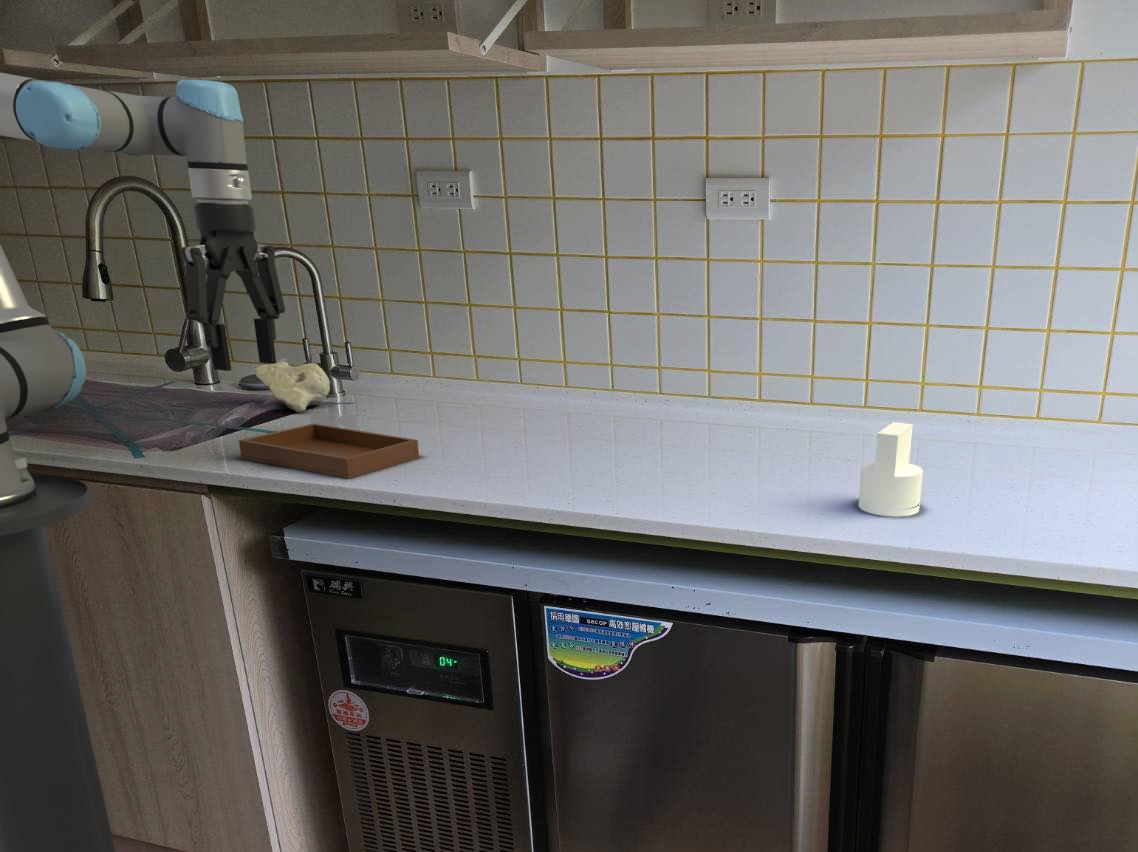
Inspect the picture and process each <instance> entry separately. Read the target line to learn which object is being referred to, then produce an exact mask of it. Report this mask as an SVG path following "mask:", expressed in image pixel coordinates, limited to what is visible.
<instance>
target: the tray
mask: <svg viewBox="0 0 1138 852" xmlns="http://www.w3.org/2000/svg"><path fill="white" fill-rule="evenodd" d="M238 445H239V451H240V458H241V460H246V461H252V462H256V463H257V462H258V463H262V464H267V465H274V466H279V467H285V468H289V469H296V470H300V471H306V472H312V473H316V474H322V475H327V476H332V477H333V476H334V477H338V478H343V479H352V478H355V477H360V476H363V475H365V474H369V473H373V472H376V471H378V470H383V469H386V468H390V467H392V466H396V465H399V464H403V463H406V462H409V461H413V460H416V459H419V458H420V454H419V453H420V450H419V440H418V439H414V438H408V437H402V436H395V435H389V434H383V433H376V432H370V431H363V430H358V429H352V428H344V427H338V426H332V425H328V424H327V425H326V424H320V423H310V424H306V425H301V426H296V427H291V428H287V429H283V430H279V431H275V432H269V433H265V434H261V435H257V436H252V437H247V438H243V439H239V440H238Z"/></svg>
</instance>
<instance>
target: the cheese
mask: <svg viewBox="0 0 1138 852" xmlns="http://www.w3.org/2000/svg"><path fill="white" fill-rule="evenodd" d="M254 372H255V376H256V377H257V378H258V379H259V380H260V382H261V383H263V385H264V386H265V387H267V388H268V389H269V390H270V391H271V393H272V395H273V396H274V397H275V399H276V400H277V401H278V402H280V403H281V404H283V405H285V406H286V407H287V408H288V409H290V410H292V411H294V412H297V413H301V412H305V411H306V410H307V407H309V406H317V405H321V404H323V403H324V400H325V399H326V397H327V396H328V395H329V393H330V390H331V381H330V379H329V377H328V375H327V374H326V372H325V371H324V369H323V368H321V367H320V365H318V364H317V363H315V362H313V363H312V362H309V363H304V364H301V365H299V366H291V365H289V363H288V362H287V358H283V359H280V361H276V364H268V363H266V364H262V365H259V366H257V367H255V369H254Z"/></svg>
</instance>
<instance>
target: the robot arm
mask: <svg viewBox="0 0 1138 852" xmlns="http://www.w3.org/2000/svg"><path fill="white" fill-rule="evenodd" d="M175 87H176V90H175V91H176V92H175V95H174V96H153V95H139V94H138V95H137V94H131V93H125V92H117V91H110V90H104V89H96V88H92V87H91V88H90V87H85V86H81V85H73V84H69V83H65V82H60V81H53V80H46V79H45V80H44V79H36V78H32V77H28V76H22V75H16V74H10V73H5V72H0V136H3V137H7V138H8V137H9V138H14V139H20V140H23V141H24V140H25V141H30V142H35V143H39V144H41V145H43V146H46V147H51V148H54V149H58V150H66V151H79V150H80V151H95V152H96V151H97V152H107V153H113V154H114V153H115V154H122V155H126V156H135V157H140V156H179V157H186V162H187V168H188V169H187V171H188V177H189V185H190V192H191V197H192V199H194V200H197V203H195V204H194V205H193V210H194V211H193V212H194V218H195V225H196V228H197V230H198V232H199V233H200V240H199V243H198V244H196V245H194V246H183V247H181V249H180V252H181V255H182V258H183V261H184V264H185V276H186V277H185V279H186V280H185V283H186V306H187V307H186V308H187V310H186V311H187V318H188V320H189V321H195V322H197V323H198V324H202V327H203V334H204V340H205V341H204V342H205V345H206V346H207V348H210V353H211V359H212V367H213V370H216V371H224V372H229V371H232V365H231V358H230V350H229V344H228V337H227V329H226V325H225V324H224V323H220V319H221V313H222V308H223V302H224V297H225V291H226V286H227V281H228V279H229V278H230V276H231V273H232V272H235V273H236V275H237V276H239V277H240V279H241V282H242V284H243V286H244V288H245V290H246V292H247V294H248V296H249V299H250V302H251V304H252V305H253V307H254V309H255V312H256V313H257V316H258V317H259V318H253V324H254V332H255V339H256V347H257V354H258V355H257V356H258V362H259V363H261V364H276V362H277V358H276V356H277V355H276V349H275V342H274V341H276V339H277V333H276V323H275V320H278V319H280V317H281V315H280V314H284V313H285V311H286V307H285V303H284V299H283V294H282V293H283V292H282V289H281V284H280V281H279V276H278V272H277V267H276V263H275V259H276V249H275V248H276V247H275V246H273V245H269V244H268V245H267V244H261V243H260V244H259V243H258V242H257V239H256V237H255V236H254V234H255V231H256V230H257V226H256V225H257V224H256V219H255V218H256V217H255V209H254V207H253V206H252V205H251V204H249V202H248V201H251V200H253V196H252V195H253V194H252V189H251V188H252V187H251V179H250V172H249V165H248V161H247V151H246V142H245V134H244V133H245V132H244V118H243V115H242V111H241V105H240V100H239V95H238V92H237V90H236V88H235V87H234V86H233V85H231V84H230V83H227V82H222V81H215V80H214V81H213V80H205V79H204V80H203V79H181V80H178V81H177V82H176V85H175ZM254 258H255V259H254ZM206 260H207V264H206V263H205V261H206ZM86 376H87V367H86V361H85V358H84V355H83V353H82V351H81V349H80V348H79V346H78V345H77V344H76V342H75V341H74V340H73V339H72V338H68V337H67V335H66V334H64V333H62V332H59V331H56V330H53V328H52V326H51V324H50V322H49V319H48V317H47V316H46V314H45V313H42V312H40V311H38V310H36V309H34V308H32V307H31V306H30V305H29V304H28V301H27V298H26V297H25V295H24V292H23V289H22V287H21V286H20V284H19V282H18V279H17V277H16V275H15V273H14V271H13V269H12V266H11V264H10V262H9V260H8V258H7V256H6V254H5V251H4V249H3V247H2V245H1V244H0V509H1V508H5V507H9V506H13V505H16V504H19V503H22V502H25V501H27V500H29V499H31V498H33V497H34V496H35V495H36V488H35V483H34V480H33V479H32V477H31V475H32V474H30V473H29V471H28V469H27V468H28V463H27V458H26V457H22V458H20V456H19V455H18V454H17V452H16V451H15V449H14V448H13V446H12V444H11V439H10V436H9V435H10V434H9V431H8V427H7V423H6V420H8V419H13V418H17V417H21V416H25V415H26V416H27V415H30V414H33V413H38V412H47V411H49V410H53V409H56V408H58V407H60V406H62V405H66V404H68V403H70V402H71V401H73V400H74V399H76V398H77V397H78V395H79V394H80V393H81V391H82V388H83V386H84V384H85V382H86Z"/></svg>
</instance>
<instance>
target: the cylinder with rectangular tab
mask: <svg viewBox="0 0 1138 852" xmlns="http://www.w3.org/2000/svg"><path fill="white" fill-rule="evenodd" d="M913 427H914V425H913V424H912V423H907V422H896V421H895V422H894V421H893V422H891V423H890V424H889V425H886V426H885V427H884V428H883V429H881V430H880V431H878V432H877V436H876V449H875V460H874V461H869V462H865V463H862V465H861V467H860V481H859V492H858V493H859V495H858V508H859V509H860V510H861V511H864V512H865V513H869V514H872V515H877V516H882V517H897V518H898V517H907V516H913V515H916V514H918V513H919V511H920V504H921V495H922V494H921V493H922V484H923V475H924V474H923V473H924V470H923V469H922V468H921V467H920V466H918V465H915V464H912V463H910V458H911V448H912V438H913ZM919 503H920V504H919ZM918 504H919V506H917V505H918ZM867 505H868V506H867ZM870 506H871V507H870ZM915 506H917V507H915ZM874 507H876V508H874ZM912 507H915V508H912ZM879 508H883V509H879ZM906 508H912V509H906ZM887 509H906V510H887Z"/></svg>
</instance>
